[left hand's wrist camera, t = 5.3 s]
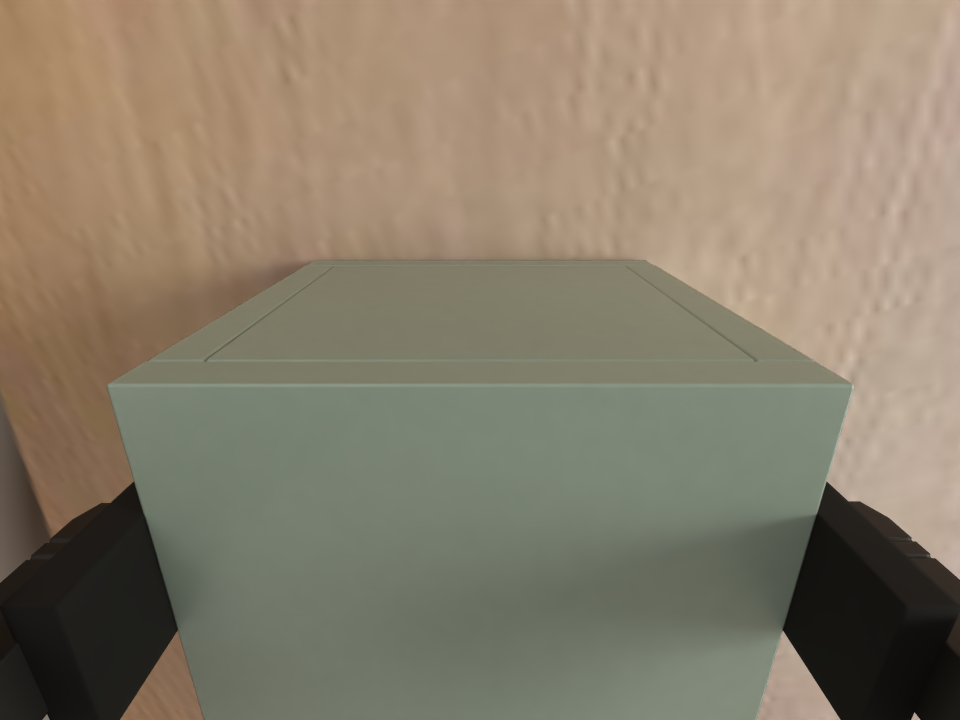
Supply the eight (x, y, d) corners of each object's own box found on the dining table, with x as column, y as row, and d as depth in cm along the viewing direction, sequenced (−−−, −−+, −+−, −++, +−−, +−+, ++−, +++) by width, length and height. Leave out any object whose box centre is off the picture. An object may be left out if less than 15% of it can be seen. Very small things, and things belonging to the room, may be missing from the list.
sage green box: (603, 620, 24) (691, 945, 14) (356, 620, 24) (268, 945, 14) (646, 260, 18) (857, 384, 8) (313, 259, 18) (103, 384, 8)
